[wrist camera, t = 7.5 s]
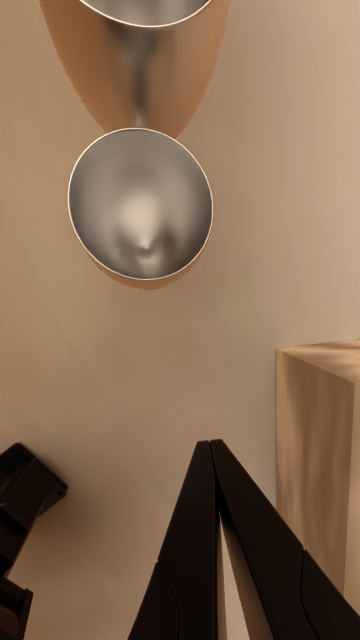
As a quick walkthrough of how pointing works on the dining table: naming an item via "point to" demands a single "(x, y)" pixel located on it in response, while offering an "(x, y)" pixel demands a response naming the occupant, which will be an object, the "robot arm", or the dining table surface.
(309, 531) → the wood grain box
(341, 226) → the dining table surface
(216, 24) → the goblet set
